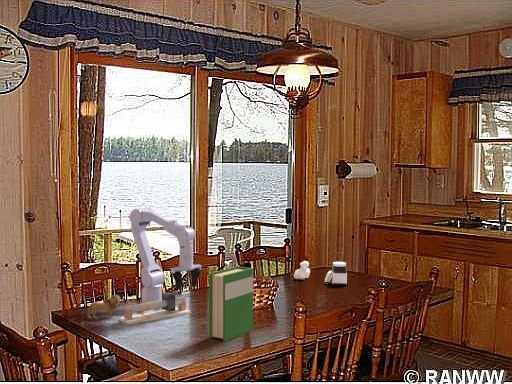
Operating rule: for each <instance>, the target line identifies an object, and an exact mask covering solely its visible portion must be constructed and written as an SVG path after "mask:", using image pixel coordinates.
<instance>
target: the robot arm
mask: <svg viewBox="0 0 512 384" xmlns="http://www.w3.org/2000/svg"><path fill="white" fill-rule="evenodd" d="M128 218H129V222H130V224H131V225H130V229H131V233H132V237H133V240H134V242H135V245H136V249H137V252H138V256H139V257H140V258H139V259H140V262H141V264H142V269H141V271H140V276H141V283H142V285H143V287H142V290H141V303H146V302H154V301H160V300H162V288H163V287H162V286H163V283H165V280H166V275H165V272H164V271H163V269H162V268H161V266H160V265H158V264H157V263H156V261H155V257H154V255H153V251H152V249H151V245H150V242H149V240H148V237H147V233H146V229H147V227H148V226H149V225H150V224H151V222H153V223H155V224H158V225H160V226H161V227H163V228H164V230H165V231H166V232H167V233H168V234H170V235H172V236H174V237H175V238H176V239H177V242H178V245H179V265H178V266H175V267H171V268H170V273H171V276H172V277H173V280H174V281H175V285H176V289H177V290H181V289H182V281H183V273H181V272H189V273H190V277H191V278H190V279H191V282H190V284H191V287H193V288H196V287H197V283H198V280H199V277H200V275H201V273H202V264H199V263H198V264H194V240H195V239H196V235H197V234H196V231H195V229H194V228H192V226H191V227H190V226H189V227H187V226H186V225H185V224H181V223H180V222H178V220H177V219H170V220H169V219H167V218H166V217H164V216H162V215H161V214H159V213H158V212H157V211H156V210H155V209H152V208H151V207H146V208H134V209H132V210H131V212H130V214H129V216H128Z"/></svg>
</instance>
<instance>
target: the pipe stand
mask: <svg viewBox="0 0 512 384" xmlns="http://www.w3.org/2000/svg"><path fill="white" fill-rule="evenodd" d="M186 302H187V300H186V298H185V296H182V297H181V296H180V297H175V306H177V307H175V311H171V312H168V311H166V310H163V309H162V307H168V300H167V299H166V300H160V301H154V302H146V303H142V302H141V303H135V304H129V305H124V308H123V309H124V312H123V313H124V315H123V317H119V321H120V322H122V323H124V324H126V325H133V324H139V323H143V322H144V323H146V322H150V321H154V320H155V321H156V320H160V319H167V318H173V317H177V316H179V317H180V316H183V315H184V316H185V315H191V313H192V312H191V310H189V309H187V303H186ZM155 309H162V310H158V311H152V312H144V313H139V314H134V315H133V313H137V312H143V311H149V310H155Z"/></svg>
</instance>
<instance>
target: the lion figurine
mask: <svg viewBox="0 0 512 384" xmlns="http://www.w3.org/2000/svg"><path fill="white" fill-rule="evenodd" d="M120 297H121V296H120V295H118V294H113V295H112V296H111V297H110V298H109V299H107V300H105V301H104V302H99V301H94V302H93V301H92V302H91V303H90V304H89V306H88V308H87V313H86V315H85V316H84V319H87V318H89V319H91V318H92V317H93V318H94V320H99V318H98V317H97V316H96V314H97V311H99V312H107V317H108V318H110V319H114V316H112V315H113V311H115V310H116V309H117V308H118V307H119V305H121V304H120V303H121V299H120ZM91 314H92V316H91Z"/></svg>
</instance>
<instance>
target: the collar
mask: <svg viewBox="0 0 512 384" xmlns="http://www.w3.org/2000/svg"><path fill="white" fill-rule="evenodd" d="M175 298H176V294H173V293H171V292H164V293H162V300H166V299H167V300H168V307H162V308H161V310H162V311H163V310H166V311H168V312H171V311H175V308H176V305H175Z"/></svg>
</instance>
